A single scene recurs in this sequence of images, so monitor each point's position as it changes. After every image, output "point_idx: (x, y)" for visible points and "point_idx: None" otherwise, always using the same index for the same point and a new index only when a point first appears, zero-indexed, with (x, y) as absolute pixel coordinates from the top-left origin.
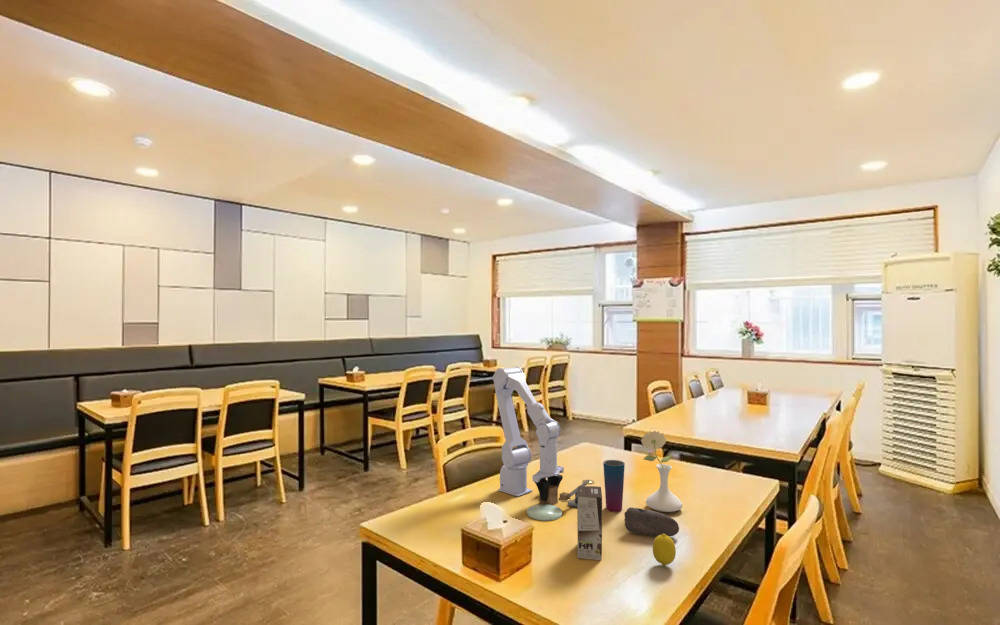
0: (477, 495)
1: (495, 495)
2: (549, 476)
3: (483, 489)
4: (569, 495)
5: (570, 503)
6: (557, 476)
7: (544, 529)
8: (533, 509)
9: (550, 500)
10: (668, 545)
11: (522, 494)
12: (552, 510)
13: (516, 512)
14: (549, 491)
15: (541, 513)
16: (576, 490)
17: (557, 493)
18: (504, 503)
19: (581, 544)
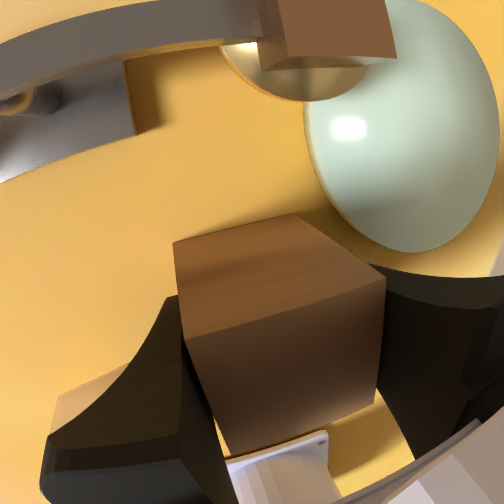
0: (402, 453)
1: (369, 450)
2: (365, 492)
3: (345, 491)
4: None
5: (128, 96)
6: (186, 500)
7: (497, 13)
8: (458, 194)
9: (303, 230)
10: None
11: (288, 442)
12: (398, 80)
13: (476, 249)
14: (368, 269)
15: (468, 107)
16: (14, 38)
17: (182, 281)
18: None
19: None
